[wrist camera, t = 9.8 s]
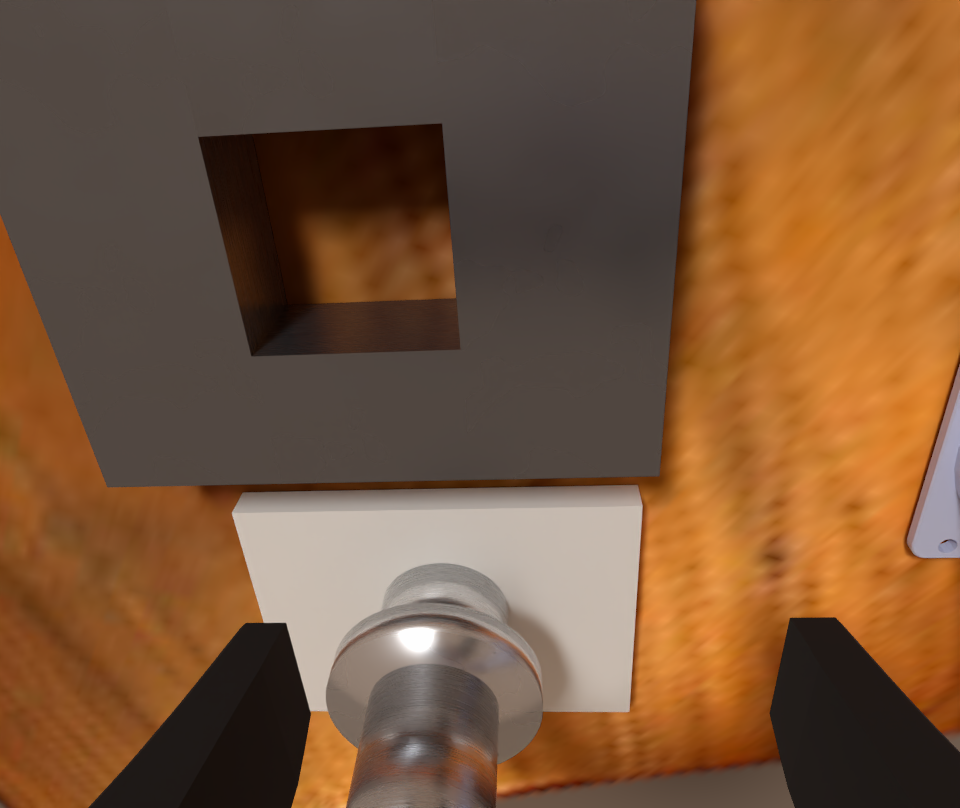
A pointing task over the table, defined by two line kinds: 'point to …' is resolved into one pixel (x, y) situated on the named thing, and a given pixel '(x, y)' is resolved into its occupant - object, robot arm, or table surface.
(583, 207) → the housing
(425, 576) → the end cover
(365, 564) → the mat
